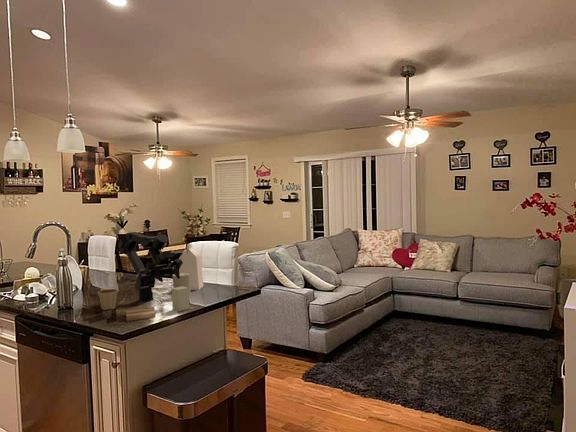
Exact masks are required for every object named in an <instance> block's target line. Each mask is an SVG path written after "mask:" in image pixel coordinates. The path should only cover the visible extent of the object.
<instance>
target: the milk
mask: <svg viewBox="0 0 576 432" xmlns="http://www.w3.org/2000/svg"><path fill="white" fill-rule="evenodd" d="M178 259H181V260H182V262H183V263H182V265H181V267H180V269H179V273H189V274H190V291H196V290H197V291H199V290H200V289H202V288H203V286H204V277H203V275H204V274H203V268H202V267H203V265H202V257H201V254H200V253H199V252H198V251H196V250H195V249H194V248H193V244H192V243H187V244H186V249H184V250H183V251H182V252H181V254H180V256H179V258H178Z"/></svg>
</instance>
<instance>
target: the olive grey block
mask: <svg viewBox="0 0 576 432" xmlns="http://www.w3.org/2000/svg"><path fill="white" fill-rule="evenodd" d="M179 274H180V279H178V278H177V277H176V276H175V274H174V273H173V274H172V286H173V287H172V288H177V287H188V288H189V297H191V296H192V293H191V291H192V290H190V274H189V273H179Z"/></svg>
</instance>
